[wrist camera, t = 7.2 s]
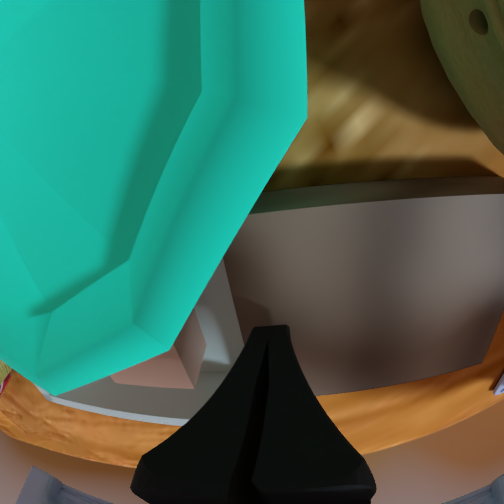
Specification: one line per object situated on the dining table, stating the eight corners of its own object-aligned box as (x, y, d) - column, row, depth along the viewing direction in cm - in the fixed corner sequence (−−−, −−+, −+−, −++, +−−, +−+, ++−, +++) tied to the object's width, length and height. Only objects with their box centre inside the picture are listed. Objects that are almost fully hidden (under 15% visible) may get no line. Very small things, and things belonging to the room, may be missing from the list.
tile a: (182, 272, 13) (160, 314, 11) (206, 344, 15) (194, 388, 13) (102, 279, 14) (73, 315, 11) (134, 344, 16) (114, 383, 13)
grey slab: (500, 176, 10) (531, 193, 8) (466, 336, 15) (481, 363, 13) (225, 196, 12) (214, 218, 10) (261, 366, 17) (258, 399, 15)
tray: (223, 185, 12) (199, 223, 8) (262, 371, 17) (257, 428, 13) (2, 233, 14) (-39, 265, 11) (70, 362, 19) (47, 400, 16)
